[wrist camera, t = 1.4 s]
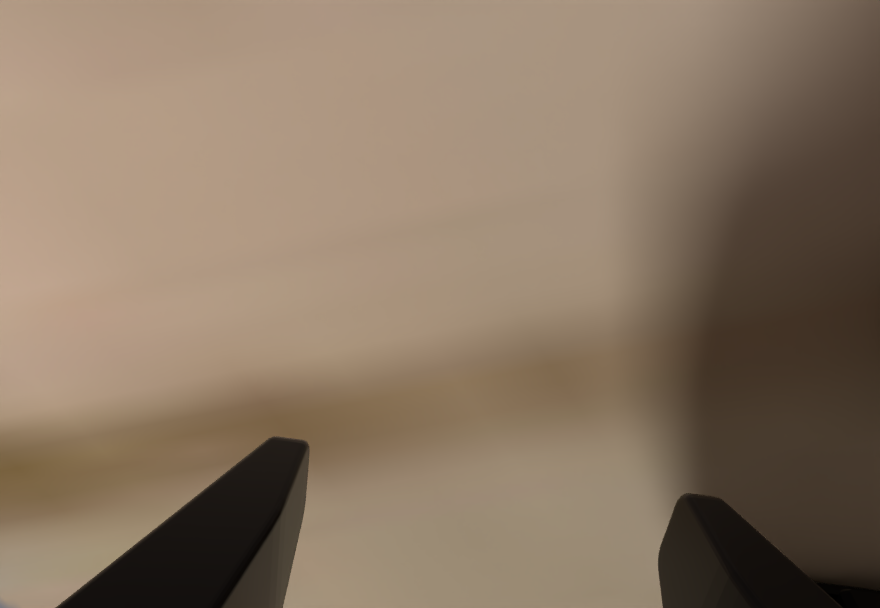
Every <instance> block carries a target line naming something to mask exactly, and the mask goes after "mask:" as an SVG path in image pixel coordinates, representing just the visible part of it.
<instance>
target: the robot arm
mask: <svg viewBox="0 0 880 608" xmlns="http://www.w3.org/2000/svg"><path fill="white" fill-rule="evenodd" d="M308 464H309V445H308V443H307V442H306V441H305V440H299V439H292V438H285V437H271V438H269V439H268V440H266V441H265V442H264V443H262V444H261V445H260V446H259V447H257V448H256V449H255V450H254V451H252V452H251V453H250V454H249V455H247V456H246V457H245V458H244V459H242V460H241V461H240V462H239V463H237V464H236V465H235V466H233V467H232V468H231V469H230V470H228V471H227V472H226V473H225V474H223V475H222V476H221V477H220V478H218V479H217V480H216V481H215V482H213V483H212V484H211V485H210V486H208V487H207V488H206V489H205V490H203V491H202V492H201V493H199V494H198V495H197V496H196V497H194V498H193V499H192V500H191V501H189V502H188V503H187V504H186V505H184V506H183V507H182V508H181V509H179V510H178V511H177V512H176V513H174V514H173V515H172V516H171V517H169V518H168V519H167V520H165V521H164V522H163V523H162V524H160V525H159V526H158V527H157V528H155V529H154V530H153V531H152V532H150V533H149V534H148V535H147V536H145V537H144V538H143V539H142V540H140V541H139V542H138V543H136V544H135V545H134V546H133V547H131V548H130V549H129V550H128V551H126V552H125V553H124V554H123V555H121V556H120V557H119V558H118V559H116V560H115V561H114V562H113V563H111V564H110V565H109V566H108V567H106V568H105V569H104V570H102V571H101V572H100V573H99V574H97V575H96V576H95V577H94V578H92V579H91V580H90V581H89V582H87V583H86V584H85V585H84V586H82V587H81V588H80V589H79V590H77V591H76V592H75V593H74V594H72V595H71V596H70V597H68V598H67V599H66V600H65V601H63V602H62V603H61V604H60V605H58V606H57V607H56V608H283V604H284V600H285V595H286V591H287V586H288V582H289V577H290V573H291V569H292V564H293V560H294V555H295V551H296V546H297V542H298V537H299V533H300V529H301V524H302V520H303V514H304V508H305V501H306V489H307V477H308ZM658 571H659V579H660V588H661V596H662V604H663V608H880V591H877V590H870V589H863V588H855V587H848V586H840V585H833V584H825V583H818V582H814V581H812V580H811V579H810V578H809V577H808V576H807V575H806V574H805V573H803V572H802V571H801V570H800V569H799V568H798V567H797V566H796V565H795V564H793V563H792V562H791V561H790V560H789V559H788V558H787V557H786V556H785V555H783V554H782V553H781V552H780V551H779V550H778V549H777V548H776V547H775V546H773V545H772V544H771V543H770V542H769V541H768V540H767V539H766V538H765V537H763V536H762V535H761V534H760V533H759V532H758V531H757V530H756V529H754V528H753V527H752V526H751V525H750V524H749V523H748V522H747V521H746V520H744V519H743V518H742V517H741V516H740V515H739V514H738V513H737V512H736V511H734V510H733V509H732V508H731V507H730V506H729V505H728V504H727V503H725V502H724V501H723V500H722V499H720V498H717V497H712V496H705V495H698V494H691V493H686V494H684V495H682V496H681V497H680V498H679V499H678V501H677V503H676V505H675V508H674V511H673V514H672V516H671V519H670V522H669V525H668V527H667V530H666V533H665V535H664V538H663V541H662V544H661V547H660V551H659V557H658Z"/></svg>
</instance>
